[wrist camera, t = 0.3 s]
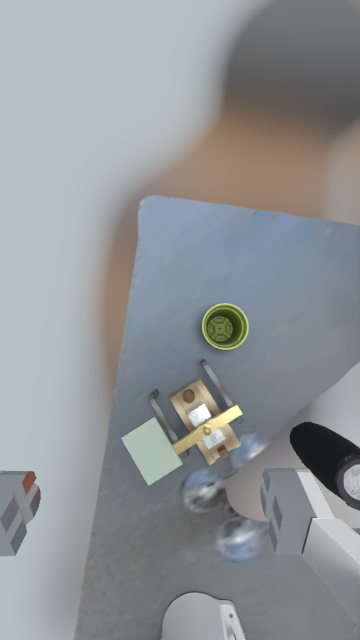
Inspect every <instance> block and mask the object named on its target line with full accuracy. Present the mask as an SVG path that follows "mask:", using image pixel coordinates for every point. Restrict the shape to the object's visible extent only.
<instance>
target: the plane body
mask: <svg viewBox="0 0 360 640" xmlns="http://www.w3.org/2000/svg"><path fill="white" fill-rule="evenodd" d="M201 363H202V365H203V366H204V368H205V369H206V371H207V373H208V374H209V376H210V377H211V379H212V381H213V382H214V384H215V385H216V387H217V389H218V390H219V392H220V393H221V395H222V396H223V398H224V400H225V401H226V403H227V404H228V406H229V407H231V406H232V405H233V403H232V401H231V400H230V398H229V397H228V395H227V393H226V392H225V390H224V389H223V387H222V386H221V384H220V382H219V381H218V379H217V378H216V376H215V374H214V373H213V371H212V370H211V368H210V366H209V365H208V363H207V362H206V361H205V360H202V361H201ZM158 394H159V392H158V391H157V389H156V390H155V391H153V392H152V394H151V395H150V396H149V399H150V400H149V401H150V403H151V404H152V406H153V408H154V409H155V411H156V413H157V414H158V416H159V418H160V419H161V421H162V423H163V424H164V426H165V428H166V430H167V431H168V433H169V435H170V436H171V438H172V440H173V441H174V442H176V441H177V440H179V438H178V437H177V435H176V433H175V432H174V430H173V428H172V427H171V425H170V423H169V422H168V420H167V418H166V417H165V415H164V413H163V412H162V410H161V408H160V407H159V405H158V403H157V402H156V400H155V399H156V397H157V395H158ZM202 400H203V401H204V402H205V404H206V406H207V407H208V409H209V411H210V412H211V414H212V415H213V417H215V416H217V415H218V414H220V413H221V410H220V408H219V407H218V405H217V404H216V402H215V400H214V399H213V397H212V396H211V394H210V392H209V391H208V389H207V388H206V386H205V384H204V383H203V381H202V380H201V378H198V379H197V380H195V381H194V382H192V383H190V384H189V385H187V386H186V387H184V388H183V389H181V390H179V391H178V392H176V393H175V394H173V395H171V397H170V401H171V402H172V404H173V406H174V407H175V409H176V411H177V412H178V414H179V416H180V417H181V419H182V421H183V422H184V424H185V426H186V427H187V429H188V431H189V432H192V431H193V430H195V429H196V428H195V426H194V425H193V423H192V421H191V420H190V418H189V416H188V415H187V410H188V409H189V408H191V407H192V406H194V405H195V404H197V403H199V402H200V401H202ZM236 419H237V421H238V422H239V424H240V423H241V422H243V419H242V417H241V416H238V417H237V418H236ZM221 430H222V432H223V434H224V436H225V439H224V440H223V441H221V442H219V443H218V444H216V445H215V446H213V447H212V448H210V449H208V448H207V446H206V444H205V443H204V441H203V440H201V441H199V442H197V443H196V444H197V445H198V447H199V449H200V450H201V452H202V454H203V455H204V457H205V459H206V460H207V462H208V464H209V465H211V464H213V463H214V462H216V461H215V460H216V459H217V458H219V457H222V459H225V458H226V457H228V456H229V453H228V451H230V450H231V449H233V448H235V449H236V448H238V447H239V446H241V443H240V441H239V439H238V437H237V436H236V434H235V433H234V431H233V429H232V428H231V426H230V425H229V423H227V424H226V425H224V426H222V427H221ZM181 455H182V456H183V458H186V457H188V456H189V448H188V449H186V450H185V451H183V452H182V453H181Z"/></svg>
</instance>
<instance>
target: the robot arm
mask: <svg viewBox="0 0 360 640" xmlns="http://www.w3.org/2000/svg"><path fill="white" fill-rule="evenodd" d="M35 479H36V476H35V473H34V472H32V471H0V556H15V555H16V553H17V551H18V549H19V547H20V545H21V543H22V541H23V539H24V537H25V535H26V533H27V530H26V524H27V523H28V522H29V521H31V520H32V518H34V516H35V514H36V512H37V510H38V507H39V502H40V498H41V497H40V489H39V486H37V485H36V484H35V483H34V481H35ZM263 479H264V483H263V484H262V485H261V503H262V507H263V511H264V515H265V517H266V518H267V519H268V520H269V521H270V525H269V534H270V537H271V541H272V544H273V548H274V551H275V554H292V555H302V557H303V558H304V559H305V561H306V562H307V563H308V564H309V566H310V567H311V568H312V569H313V571H314V572H315V573H316V575H317V576H318V577H319V578H320V580H321V581H322V582H323V583H324V585H325V586H326V587H327V588H328V590H329V591H330V592H331V593H332V595H333V596H334V597H335V599H336V600H337V601H338V602H339V604H340V605H341V606H342V607H343V609H344V610H345V611H346V612H347V614H348V615H349V616H350V618H351V619H352V620H353V621H354V623H355V624H356V625H357V626H356V628H355V631H354V633H353V635H352V637H351V639H350V640H360V536H359V535H358V534H357V533H356V532H355V531H354V530H353V529H351V528H350V527H349V526H348V525H347V524H346V523H344V522H343V521H342V520H341V519H340V518H334V516H333V514H332V512H331V510H330V508H329V506H328V504H327V502H326V500H325V498H324V496H323V494H322V492H321V490H320V488H319V486H318V484H317V482H316V480H315V478H314V476H313V474H312V472H311V471H310V470H309V469H308V468H298V469H296V468H295V469H292V468H278V469H277V468H276V469H264V471H263ZM230 614H232V615H230ZM160 640H246V637H245V634H244V631H243V629H242V626H241V623H240V620H239V618H238V615H237V612H236V609H235V607H234V604H233V603H232V602H231V601H228V600H217V599H215V598H213V597H211V596H209V595H206V594H203V593H196V592H194V593H187V594H184V595H182V596H180V597H178V598H177V599H175V600H174V601H173V602H172V603H171V604H170V606H169V607H168V609H167V611H166V613H165V615H164V618H163V623H162V637H161V639H160Z"/></svg>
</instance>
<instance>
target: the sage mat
mask: <svg viewBox="0 0 360 640" xmlns="http://www.w3.org/2000/svg"><path fill="white" fill-rule="evenodd" d="M121 439H122V441H123V443H124V444H125V446H126V448H127V450H128V451H129V453H130V455H131V456H132V458H133V460H134V462H135V463H136V465H137V467H138V469H139V470H140V472H141V474H142V476H143V477H144V479H145V481H146V482H147V484H148V486H149V485H151V484H152V483H154V482H155V481H157V480H159V479H160V478H162V477H163V476H165V475H166V474H168V473H170V472H171V471H173V470H174V469H176V468H177V467H179V466H180V465H182V464H183V463H182V461H181V459H180V457H179V456H178V455H176V453H175V452H174V450H173V448H172V447H171V446H172V444H171V442H170V441H169V439H168V437H167V436H166V434H165V432H164V431H163V429H162V427H161V426H160V424H159V422H158V420H157V419H156V417H153V418H152V419H150V420H148V421H147V422H145V423H144V424H142V425H141V426H139V427H137V428H136V429H134V430H133V431H131V432H130V433H128V434H126V435H125V436H123V437H122V438H121Z"/></svg>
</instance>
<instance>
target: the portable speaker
mask: <svg viewBox="0 0 360 640" xmlns="http://www.w3.org/2000/svg"><path fill="white" fill-rule="evenodd" d="M290 443H291V445H292V447H293V449H294V451H295V452H296V454H297V455H298V456H299V458H300V459H301V461H302V463H304V465H305V466H306V467H307V468H308V469H309V470H310V471H311V472H312V473H313V474H314V475H315V476H316V477H317V478H318V480H319V481H320V482H321V483H322V484H323V485H324V486H325V487H326V488H327V489H329V490H330V491H331V492H333V493H334V494H335V495H337V496H338V497H340V498H341V499H342V500H344V501H345V502H346V504H347V505H348V506H350V507H352V508H355V509H357V510H359V511H360V448H359V447H357V446H356V445H355V444H353V443H352V442H351V441H349V440H347V439H346V438H344V437H342V436H340V435H339V434H337V433H335V432H333V431H332V430H330V429H328V428H326V427H324V426H321V425H318V424H315V423H312V422H304V423H302V424H300V425H298V426H296V427H294V428H293V429H292V431H291V434H290Z"/></svg>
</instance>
